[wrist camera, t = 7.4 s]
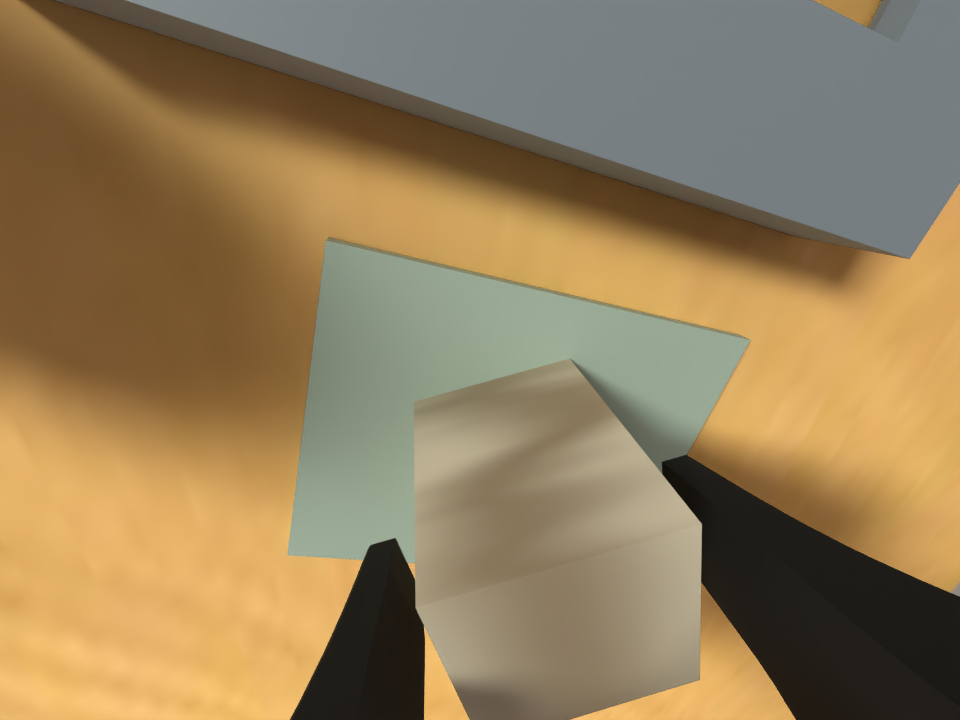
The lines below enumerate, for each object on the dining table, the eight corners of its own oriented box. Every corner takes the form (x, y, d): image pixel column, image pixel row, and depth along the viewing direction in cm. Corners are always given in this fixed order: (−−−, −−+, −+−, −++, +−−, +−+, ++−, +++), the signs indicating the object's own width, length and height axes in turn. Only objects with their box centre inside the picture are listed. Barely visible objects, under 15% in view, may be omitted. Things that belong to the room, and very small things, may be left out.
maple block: (569, 358, 12) (701, 523, 6) (587, 478, 14) (699, 679, 8) (413, 401, 12) (415, 607, 6) (454, 515, 14) (482, 746, 8)
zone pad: (741, 335, 13) (750, 340, 12) (615, 567, 17) (619, 575, 16) (328, 237, 10) (325, 240, 10) (290, 544, 14) (287, 555, 13)
